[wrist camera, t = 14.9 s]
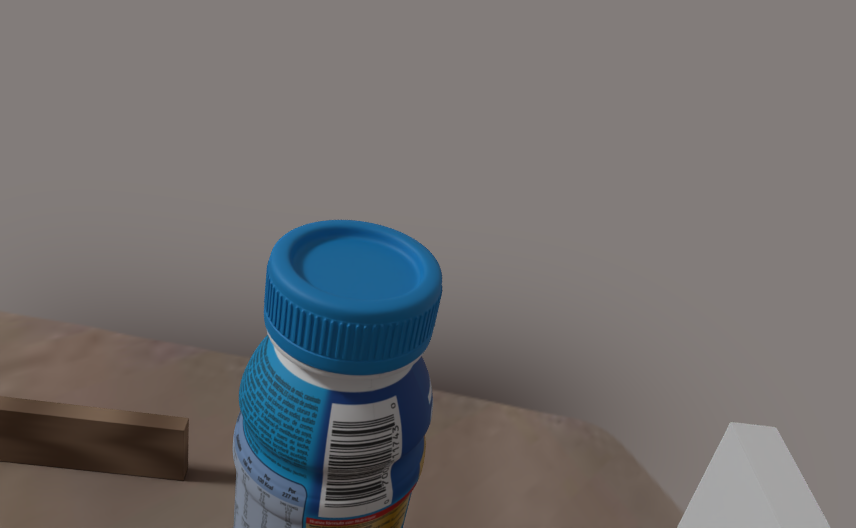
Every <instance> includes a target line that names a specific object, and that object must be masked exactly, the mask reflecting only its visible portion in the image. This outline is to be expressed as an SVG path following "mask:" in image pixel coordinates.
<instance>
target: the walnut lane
mask: <svg viewBox="0 0 856 528" xmlns="http://www.w3.org/2000/svg"><path fill="white" fill-rule="evenodd" d="M188 427H189V418H183V417H174V416H166V415H157V414H149V413H140V412H131V411H123V410H114V409H105V408H97V407H88V406H80V405H71V404H62V403H54V402H45V401H36V400H28V399H19V398H11V397H2V396H0V461H5V462H14V463H24V464H33V465H42V466H52V467H61V468H70V469H79V470H89V471H98V472H107V473H117V474H126V475H135V476H145V477H154V478H163V479H173V480H182V481H184V478H185V475H186V472H187V469H188Z"/></svg>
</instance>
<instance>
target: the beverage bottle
mask: <svg viewBox="0 0 856 528" xmlns="http://www.w3.org/2000/svg"><path fill="white" fill-rule="evenodd" d="M441 295H442V273H441V269H440V266H439V264H438V262H437V260H436V259H435V257H434V256H433V255H432V253H431V252H430V251H429V250H428V249H427V248H426V247H424V246H423V245H422V244H421V243H419V242H418V241H416V240H415V239H413V238H411V237H409V236H407V235H406V234H403V233H401V232H399V231H396V230H394V229H391V228H388V227H385V226H381V225H378V224H373V223H368V222H362V221H353V220H328V221H320V222H314V223H310V224H306V225H303V226H300V227H298V228H295V229H293V230H291V231H290V232H288V233H287V234H285V235H284V236H283V237H282V238H280V239H279V241H278V242H277V243H276V244H275V246H274V247H273V249H272V252H271V255H270V258H269V261H268V265H267V273H266V286H265V299H264V303H265V304H264V320H265V325H266V329H267V333H268V335H267V336H266V337H265V339H263V341H262V342H261V343H260V344H259V346H258V347H257V349H256V350H255V352H254V353H253V355H252V357H251V358H250V360H249V362H248V365H247V367H246V369H245V371H244V374H243V377H242V380H241V384H240V389H239V404H240V410H241V411H240V413H239V416H238V419H237V422H236V426H235V431H234V438H233V458H234V463H235V467H236V492H235V512H234V528H403V525H404V521H405V517H406V513H407V509H408V505H409V501H410V497H411V493H412V490H413V489H414V487H415V485H416V484H417V482H418V479H419V477H420V474H421V471H422V468H423V463H424V457H425V447H426V441H425V433H426V432H427V430H428V427H429V425H430V422H431V418H432V412H433V395H432V387H431V382H430V377H429V374H428V370H427V368H426V365H425V362H424V360H423V358H422V355H423V353H424V351H425V350H426V348H427V346H428V344H429V342H430V340H431V337H432V333H433V328H434V326H435V321H436V317H437V312H438V308H439V303H440V299H441Z"/></svg>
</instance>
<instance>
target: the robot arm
mask: <svg viewBox="0 0 856 528" xmlns="http://www.w3.org/2000/svg"><path fill="white" fill-rule="evenodd" d="M677 528H830V526H829V524H828V522H827V520H826V518H825V517H824V515H823V513H822V511H821V510H820V507H819V506H818V504H817V502H816V500H815V498H814V496H813V495H812V493H811V491H810V489H809V487H808V485H807V483H806V482H805V480H804V478H803V476H802V474H801V473H800V471H799V469H798V467H797V465H796V463H795V461H794V460H793V458H792V456H791V454H790V452H789V451H788V449H787V447H786V445H785V443H784V442H783V439H782V438H781V436H780V434H779V432H778V430H777V428H776V427H768V426H760V425H752V424H743V423H734V422H731V423H730V424H729V426H728V428H727V430H726V432H725V434H724V437H723V438H722V440H721V442H720V444H719V446H718V448H717V450H716V452H715V454H714V456H713V458H712V460H711V462H710V464H709V466H708V468H707V470H706V472H705V474H704V476H703V478H702V480H701V482H700V484H699V486H698V487H697V489H696V492H695V493H694V495H693V497H692V499H691V501H690V503H689V505H688V507H687V509H686V511H685V513H684V515H683V517H682V519H681V521H680V523H679V525H678V527H677Z"/></svg>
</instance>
